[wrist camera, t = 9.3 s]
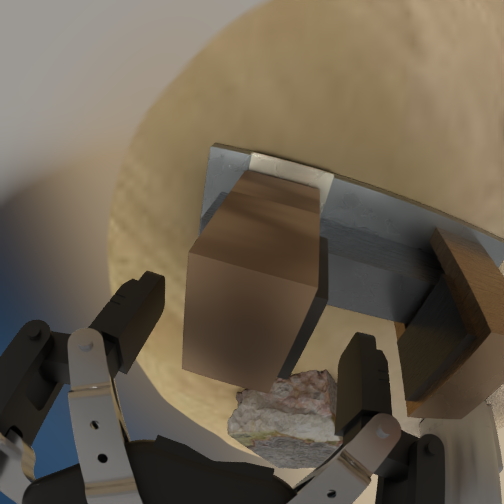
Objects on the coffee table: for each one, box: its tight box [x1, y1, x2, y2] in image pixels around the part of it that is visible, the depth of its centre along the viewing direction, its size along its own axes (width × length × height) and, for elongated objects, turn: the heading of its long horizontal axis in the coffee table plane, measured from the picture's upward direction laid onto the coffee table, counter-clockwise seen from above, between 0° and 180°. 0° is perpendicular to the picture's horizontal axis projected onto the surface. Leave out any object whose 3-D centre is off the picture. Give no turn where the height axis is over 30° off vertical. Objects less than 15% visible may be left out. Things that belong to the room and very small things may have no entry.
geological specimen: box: [227, 370, 343, 469], centre depth 28 cm, size 11×6×15 cm
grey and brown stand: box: [199, 143, 504, 419], centre depth 14 cm, size 20×8×9 cm, turn 79°
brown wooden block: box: [182, 170, 329, 394], centre depth 14 cm, size 5×6×8 cm
